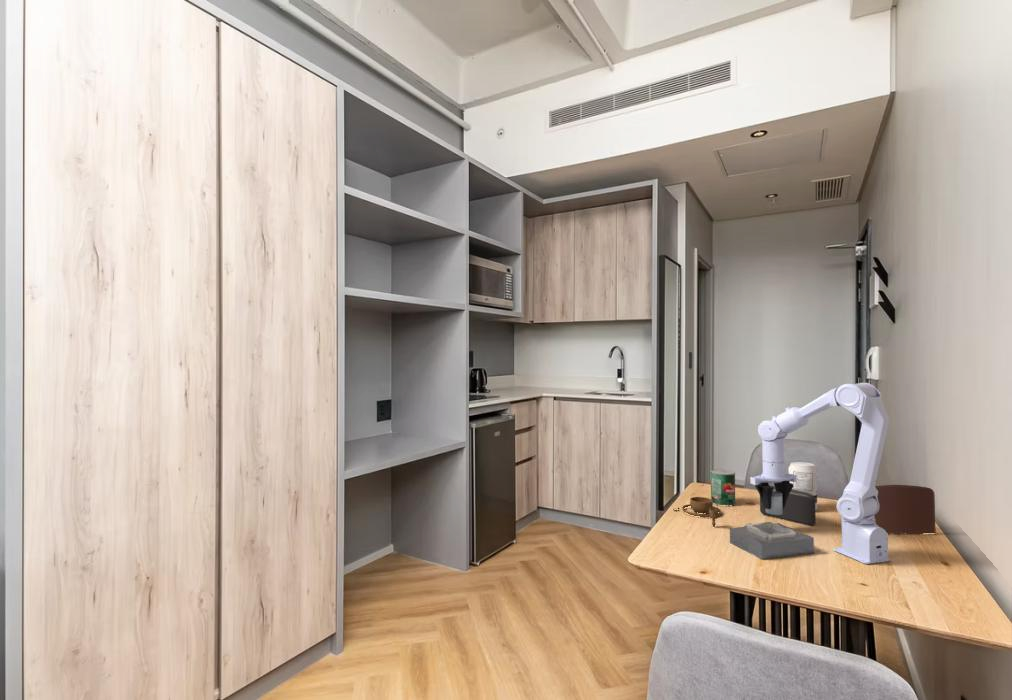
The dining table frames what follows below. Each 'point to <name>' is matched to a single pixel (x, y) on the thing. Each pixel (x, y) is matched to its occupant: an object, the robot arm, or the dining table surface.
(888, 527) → the letter holder
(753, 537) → the grey square pedestal
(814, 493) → the supplement can
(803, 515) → the dark grey slab
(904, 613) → the dining table surface
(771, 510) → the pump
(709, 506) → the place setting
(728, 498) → the canned tomato
